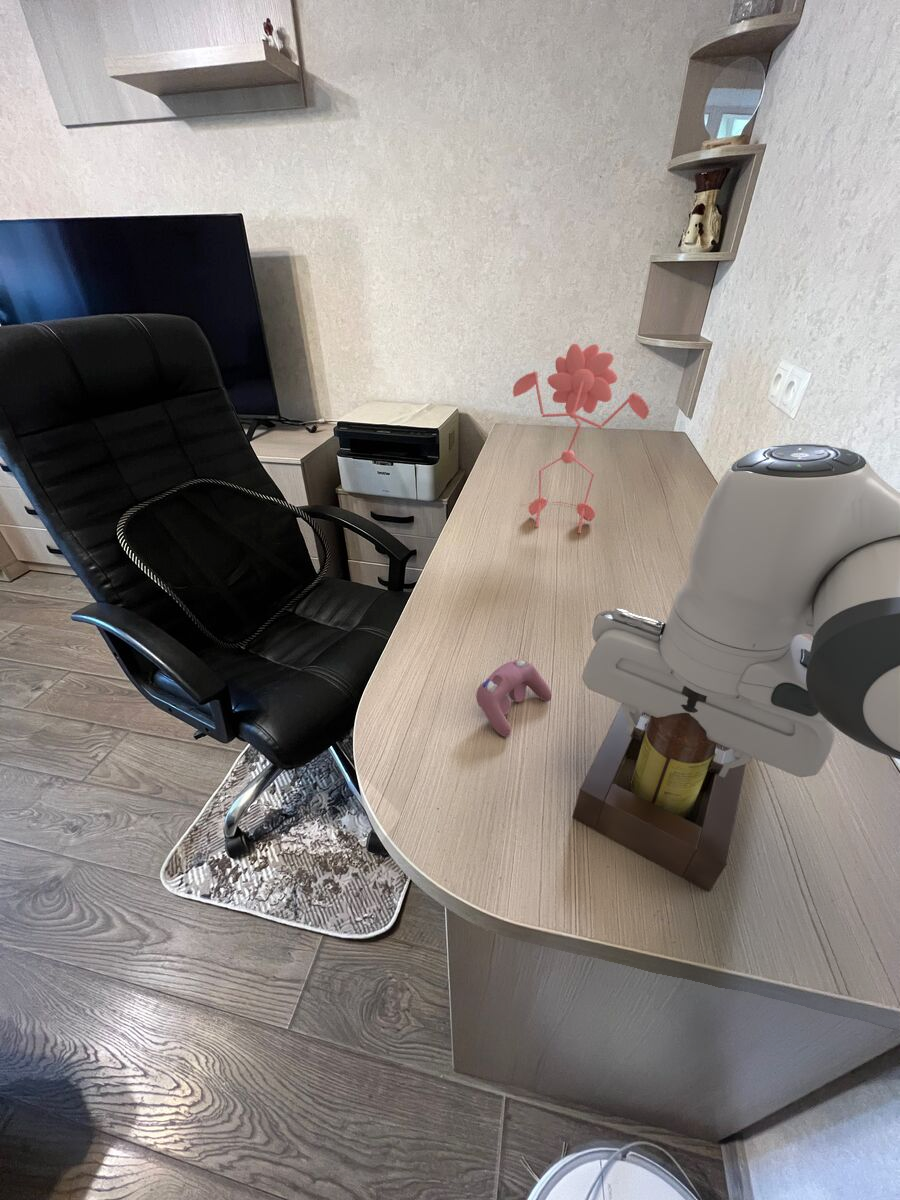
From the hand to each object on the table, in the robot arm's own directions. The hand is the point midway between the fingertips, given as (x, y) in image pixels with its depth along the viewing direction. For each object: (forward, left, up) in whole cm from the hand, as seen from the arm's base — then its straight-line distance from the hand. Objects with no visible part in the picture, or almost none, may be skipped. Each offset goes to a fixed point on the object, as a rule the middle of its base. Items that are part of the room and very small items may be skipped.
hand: (674, 750), depth 49 cm
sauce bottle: (0, 0, -9) cm, 9 cm away
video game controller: (+19, -3, -9) cm, 21 cm away
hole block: (0, -5, -8) cm, 10 cm away
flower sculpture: (+36, -60, -9) cm, 71 cm away
